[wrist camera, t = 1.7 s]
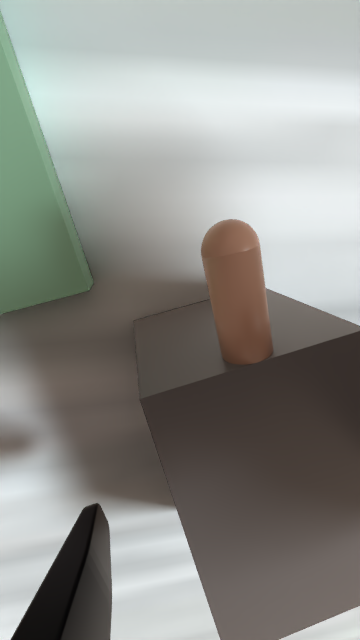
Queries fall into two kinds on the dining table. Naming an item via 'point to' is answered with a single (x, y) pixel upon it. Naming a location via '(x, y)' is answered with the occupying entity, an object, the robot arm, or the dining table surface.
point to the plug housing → (258, 442)
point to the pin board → (31, 204)
